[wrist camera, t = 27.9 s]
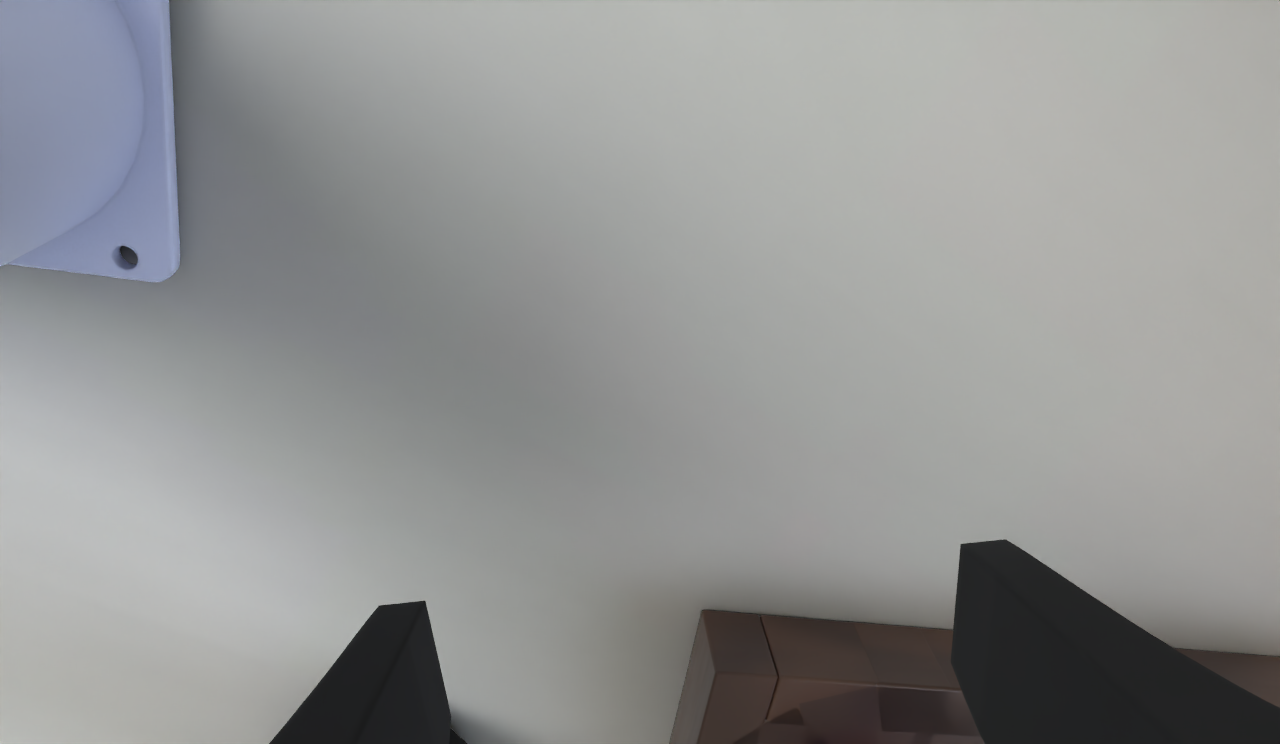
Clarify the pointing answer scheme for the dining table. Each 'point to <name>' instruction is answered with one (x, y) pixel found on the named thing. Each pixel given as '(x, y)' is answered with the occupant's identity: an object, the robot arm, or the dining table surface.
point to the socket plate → (852, 683)
